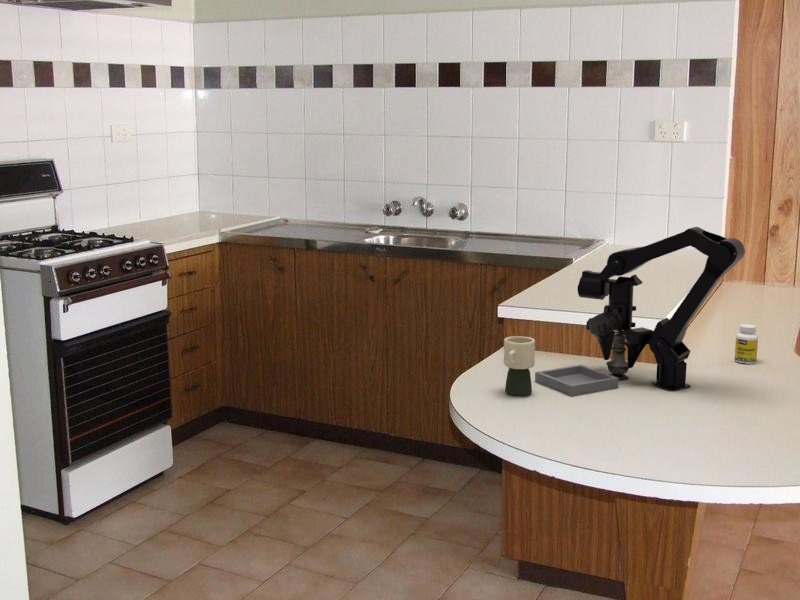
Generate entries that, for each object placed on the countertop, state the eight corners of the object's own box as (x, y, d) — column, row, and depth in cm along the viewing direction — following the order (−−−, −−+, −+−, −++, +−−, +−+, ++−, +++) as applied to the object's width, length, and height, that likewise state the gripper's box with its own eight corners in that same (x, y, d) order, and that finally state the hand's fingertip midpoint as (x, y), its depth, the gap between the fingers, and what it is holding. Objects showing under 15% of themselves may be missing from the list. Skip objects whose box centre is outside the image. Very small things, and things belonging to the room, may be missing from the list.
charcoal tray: (618, 388, 221) (618, 378, 221) (571, 396, 215) (571, 386, 214) (580, 374, 233) (580, 364, 233) (534, 381, 227) (535, 372, 226)
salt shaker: (616, 382, 226) (618, 334, 224) (600, 376, 231) (602, 329, 229) (634, 378, 229) (637, 331, 227) (619, 373, 234) (620, 326, 232)
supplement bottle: (733, 363, 242) (736, 327, 241) (734, 358, 247) (737, 322, 245) (756, 365, 240) (758, 328, 239) (756, 360, 245) (759, 324, 243)
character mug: (513, 385, 224) (514, 333, 221) (541, 389, 220) (542, 336, 218) (494, 397, 215) (495, 342, 212) (523, 401, 211) (524, 346, 209)
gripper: (570, 298, 231) (568, 359, 234) (621, 312, 215) (618, 377, 218) (605, 294, 236) (602, 354, 239) (657, 307, 220) (654, 371, 223)
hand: (618, 363), depth 229 cm, fingers closed on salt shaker, 8 cm apart
